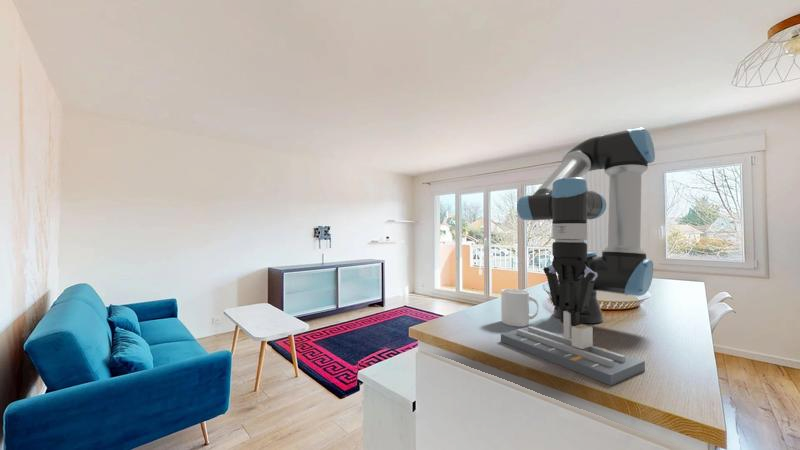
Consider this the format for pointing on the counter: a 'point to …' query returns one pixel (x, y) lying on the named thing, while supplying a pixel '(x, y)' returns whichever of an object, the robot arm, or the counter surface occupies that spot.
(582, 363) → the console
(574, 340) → the fader
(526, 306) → the mug
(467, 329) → the counter surface
